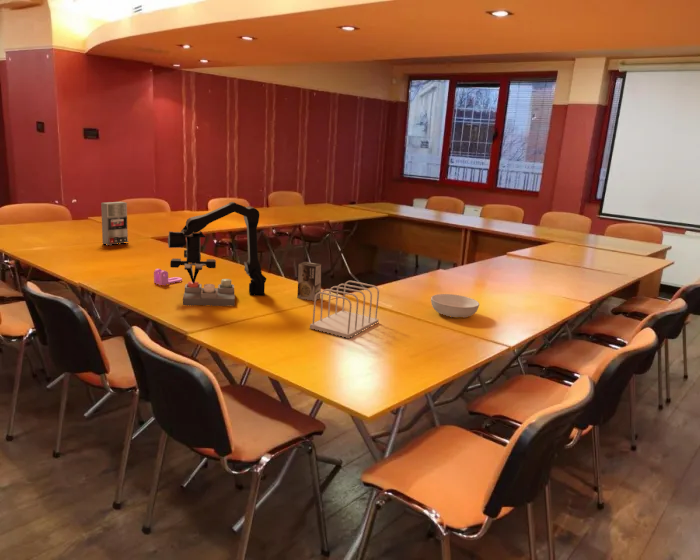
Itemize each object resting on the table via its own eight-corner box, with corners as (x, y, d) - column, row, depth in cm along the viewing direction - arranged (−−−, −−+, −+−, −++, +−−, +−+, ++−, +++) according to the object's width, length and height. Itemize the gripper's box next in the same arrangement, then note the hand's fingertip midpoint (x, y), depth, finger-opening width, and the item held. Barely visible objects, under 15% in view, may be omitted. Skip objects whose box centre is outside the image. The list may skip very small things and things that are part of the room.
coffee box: (320, 298, 258) (322, 264, 254) (314, 301, 252) (316, 266, 248) (303, 294, 262) (305, 261, 258) (296, 297, 256) (298, 263, 252)
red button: (198, 287, 247) (198, 281, 247) (198, 290, 243) (198, 284, 242) (188, 287, 246) (188, 281, 246) (187, 290, 242) (187, 283, 241)
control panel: (233, 294, 253) (234, 284, 252) (234, 305, 237) (234, 294, 236) (185, 294, 249) (185, 283, 247) (182, 305, 232) (182, 294, 231)
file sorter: (348, 339, 208) (351, 299, 204) (309, 329, 216) (311, 290, 212) (378, 323, 229) (381, 286, 225) (341, 314, 237) (344, 278, 233)
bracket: (161, 286, 259) (161, 271, 257) (154, 283, 262) (153, 269, 260) (184, 281, 269) (184, 267, 268) (176, 279, 272) (176, 265, 271)
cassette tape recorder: (108, 246, 333) (107, 204, 327) (102, 244, 336) (100, 202, 330) (128, 243, 344) (127, 202, 338) (122, 242, 347) (121, 201, 341)
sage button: (231, 285, 250) (231, 279, 249) (231, 288, 246) (231, 281, 245) (221, 285, 249) (221, 278, 248) (221, 288, 245) (221, 281, 244)
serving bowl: (473, 325, 235) (475, 310, 233) (424, 317, 242) (426, 301, 240) (480, 312, 254) (482, 298, 252) (434, 305, 261) (436, 291, 259)
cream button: (214, 290, 240) (214, 284, 239) (214, 293, 236) (214, 286, 235) (204, 290, 239) (204, 283, 238) (203, 293, 235) (203, 286, 234)
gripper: (216, 244, 250) (215, 278, 254) (172, 243, 246) (172, 277, 250) (215, 249, 239) (215, 284, 243) (170, 248, 235) (170, 284, 239)
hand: (193, 282), depth 244 cm, fingers closed, pressing on red button
